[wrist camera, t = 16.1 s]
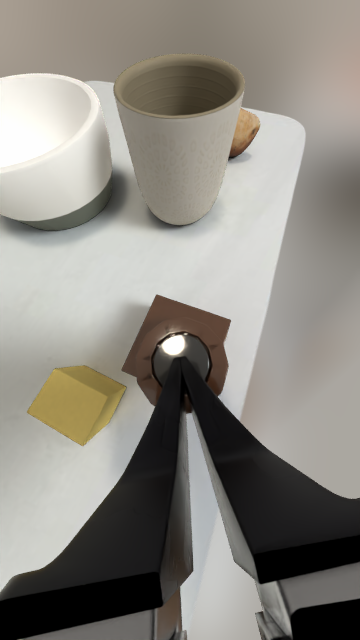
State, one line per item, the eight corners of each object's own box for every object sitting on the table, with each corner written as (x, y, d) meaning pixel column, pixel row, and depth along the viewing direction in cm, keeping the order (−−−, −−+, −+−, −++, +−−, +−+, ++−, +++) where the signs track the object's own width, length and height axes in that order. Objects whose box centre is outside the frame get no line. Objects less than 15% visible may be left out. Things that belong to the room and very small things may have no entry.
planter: (210, 180, 25) (231, 48, 14) (222, 232, 21) (261, 111, 11) (144, 185, 25) (115, 58, 14) (145, 238, 21) (109, 123, 11)
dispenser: (199, 400, 15) (211, 431, 9) (134, 372, 16) (103, 383, 10) (221, 329, 17) (243, 314, 11) (162, 308, 18) (151, 283, 12)
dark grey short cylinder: (195, 393, 11) (198, 402, 9) (152, 374, 12) (144, 379, 9) (209, 347, 12) (216, 345, 10) (169, 332, 12) (166, 327, 10)
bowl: (89, 142, 28) (53, 58, 20) (150, 199, 24) (134, 117, 16) (-15, 190, 25) (-109, 111, 17) (31, 268, 20) (-70, 210, 12)
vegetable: (260, 105, 25) (296, -8, 16) (246, 175, 28) (268, 114, 18) (180, 108, 27) (168, 9, 18) (173, 172, 30) (159, 116, 20)
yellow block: (126, 386, 16) (108, 396, 12) (108, 422, 15) (82, 447, 11) (84, 365, 16) (54, 368, 12) (65, 398, 15) (25, 412, 11)
